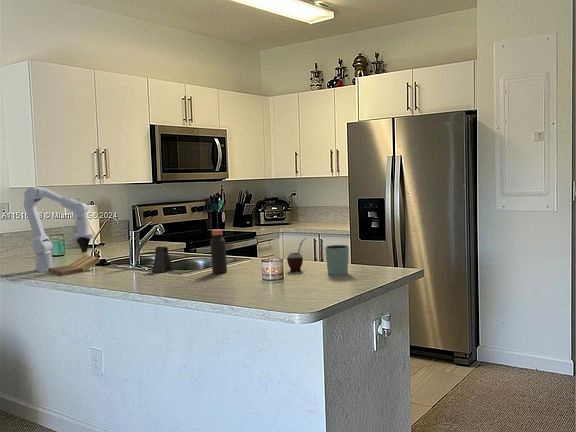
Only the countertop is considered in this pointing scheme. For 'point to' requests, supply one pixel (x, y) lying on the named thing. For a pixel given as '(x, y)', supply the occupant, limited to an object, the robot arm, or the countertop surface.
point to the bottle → (218, 252)
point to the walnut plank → (64, 270)
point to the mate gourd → (295, 260)
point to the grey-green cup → (337, 259)
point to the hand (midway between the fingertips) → (84, 252)
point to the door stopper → (162, 260)
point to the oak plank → (85, 262)
